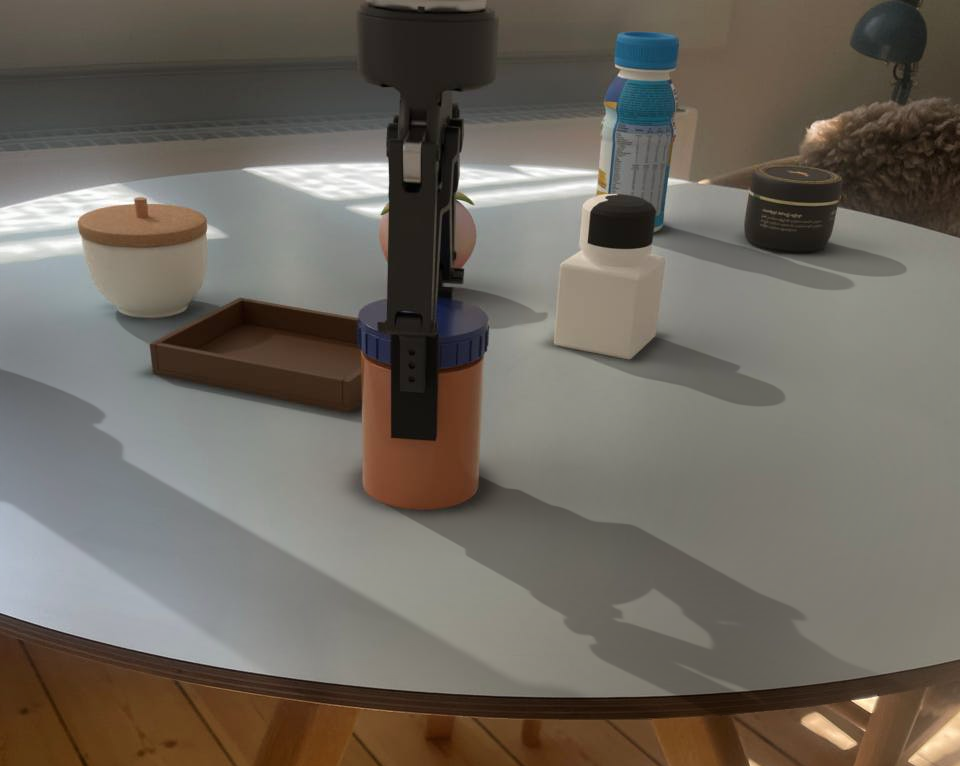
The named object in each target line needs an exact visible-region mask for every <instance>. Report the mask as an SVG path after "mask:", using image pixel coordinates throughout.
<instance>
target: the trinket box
mask: <svg viewBox="0 0 960 766" xmlns="http://www.w3.org/2000/svg"><path fill="white" fill-rule="evenodd" d="M133 201H134V202H133V203H129V204H116V205H111V206H105V207H100V208H96V209H93V210H90V211H87V212H85V213H83V214H82V215H81V216H80V217H79V218H78V220H77V225H78V226H77V227H78V233H79V235H80V237H81V244H82V250H83V256H84V260H85V264H86V268H87V270H88V272H89V275H90V278H91V280H92V282H93V283H94V285H95V287H96V289H97V290H98V291H99V293H100V294H101V295H102V296H103V297H104V298H105V299H106V300H107V301H108V302H109V303H111V304H112V305H113V306H115V307H116V309H117V311H118V312H119V313H121V314H122V315H125V316H127V317H128V316H129V317H132V318H141V319H157V318H158V319H160V318H166V317H171V316H177V315H180V314H182V313H183V312H185V311H186V310H187V309H188V307H189V306H188V305H189V304H190V303H191V301H192V300H193V299H194V298H195V297H196V296H197V294H198V293H199V291H200V290H201V288H202V286H203V283H204V281H205V277H206V272H207V267H208V265H207V264H208V238H207V231H208V221H207V218H206V216H205V215H204V214H203V213H202V212H199V211H198V210H195V209H192V208H189V207H185V206H179V205H172V204H162V203H148V200H147V197H144V196H143V197H142V196H139V197H134V198H133Z"/></svg>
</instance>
